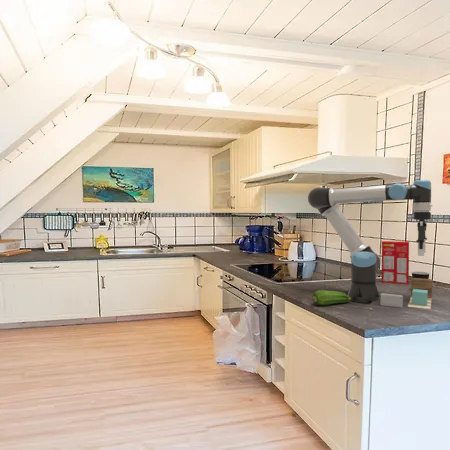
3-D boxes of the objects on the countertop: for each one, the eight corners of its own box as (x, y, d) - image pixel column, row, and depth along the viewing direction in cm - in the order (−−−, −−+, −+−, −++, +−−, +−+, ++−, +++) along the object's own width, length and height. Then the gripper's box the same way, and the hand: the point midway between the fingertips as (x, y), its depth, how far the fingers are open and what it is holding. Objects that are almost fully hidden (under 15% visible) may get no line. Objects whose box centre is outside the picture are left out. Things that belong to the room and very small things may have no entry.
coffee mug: (413, 288, 203) (413, 270, 203) (430, 290, 198) (430, 272, 197) (408, 292, 194) (408, 274, 194) (426, 294, 189) (426, 275, 188)
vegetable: (312, 287, 173) (348, 285, 178) (308, 299, 176) (344, 296, 181) (319, 297, 166) (356, 294, 172) (315, 309, 170) (352, 306, 175)
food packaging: (408, 282, 219) (408, 241, 218) (408, 284, 214) (409, 242, 213) (381, 280, 225) (382, 241, 224) (381, 282, 221) (381, 241, 219)
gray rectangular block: (397, 320, 147) (398, 305, 147) (374, 317, 152) (374, 303, 152) (402, 308, 164) (402, 295, 164) (381, 305, 169) (381, 293, 169)
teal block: (426, 306, 164) (427, 292, 163) (412, 304, 167) (412, 291, 166) (427, 302, 169) (427, 290, 168) (413, 301, 172) (413, 288, 172)
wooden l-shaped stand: (430, 311, 159) (430, 288, 158) (407, 308, 163) (407, 286, 163) (431, 299, 179) (432, 279, 179) (411, 297, 184) (411, 277, 183)
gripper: (430, 211, 166) (429, 257, 167) (431, 211, 187) (431, 251, 188) (411, 212, 169) (411, 256, 170) (415, 211, 191) (414, 250, 192)
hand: (421, 254), depth 179 cm, fingers open, 13 cm apart
